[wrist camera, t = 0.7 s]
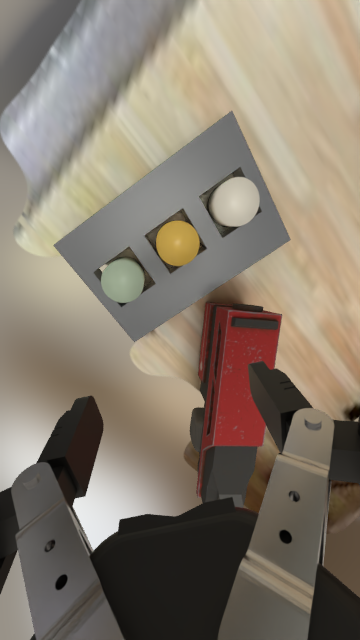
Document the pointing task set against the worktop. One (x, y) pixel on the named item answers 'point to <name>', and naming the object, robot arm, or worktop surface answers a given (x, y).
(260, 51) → the worktop surface
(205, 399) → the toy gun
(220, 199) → the button ivory
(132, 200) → the panel
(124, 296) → the button sage
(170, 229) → the button amber
